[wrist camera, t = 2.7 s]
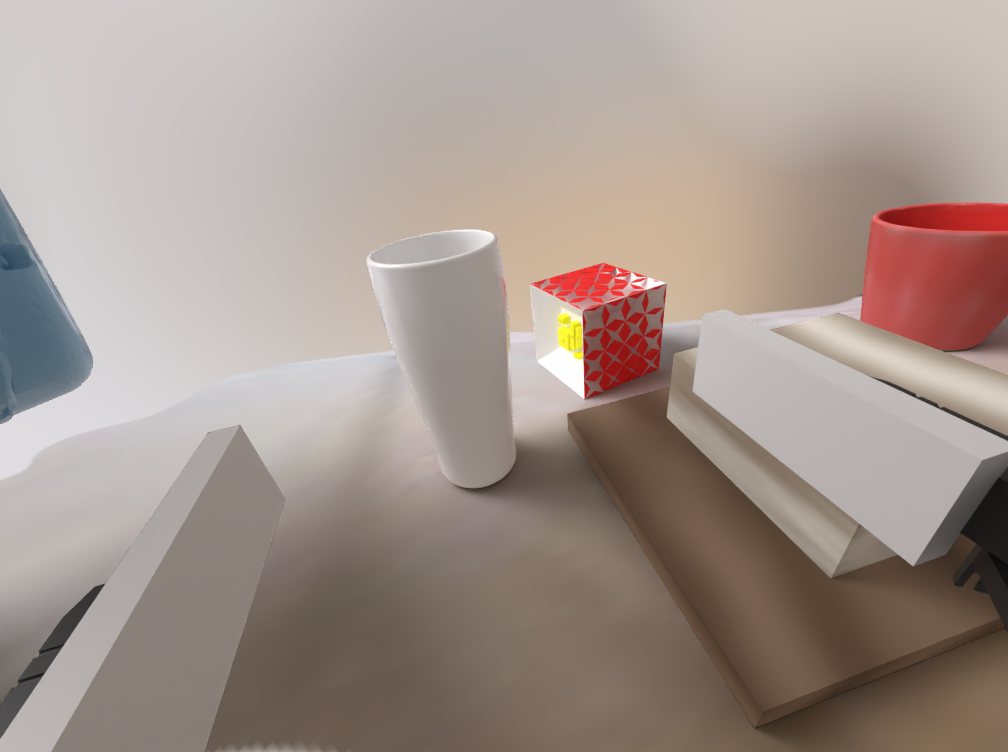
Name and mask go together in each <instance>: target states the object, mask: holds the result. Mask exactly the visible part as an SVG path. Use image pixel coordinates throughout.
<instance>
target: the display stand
mask: <svg viewBox="0 0 1008 752" xmlns="http://www.w3.org/2000/svg"><path fill="white" fill-rule="evenodd" d="M771 331H773V332H775V333H777V334H779V335H781V336H784V337H786V338H788V339H790V340H792V341H794V342H797V343H799V344H801V345H803V346H805V347H807V348H809V349H812V350H814V351H816V352H818V353H820V354H822V355H824V356H827V357H829V358H831V359H833V360H835V361H837V362H839V363H842V364H844V365H846V366H848V367H850V368H852V369H854V370H857V371H859V372H861V373H863V374H865V375H867V376H871V377H874V378H878V379H881V380H885V381H889V382H891V383H893V384H895V385H898V386H900V387H902V388H904V389H906V390H909V391H911V392H913V393H915V394H916V396H917V397H921V396H922V397H924V398H926V399H928V400H930V401H933V402H935V403H937V404H938V406H939V407H940V408H942V407H946V408H948V409H950V410H952V411H954V412H957V413H959V414H961V415H963V416H965V417H967V418H970V419H972V420H974V421H976V422H978V423H981V424H983V425H985V426H987V427H989V428H991V429H994V430H996V431H998V432H1000V433H1002V434H1005V435H1007V436H1008V375H1006V374H1003V373H1000V372H997V371H995V370H992V369H989V368H987V367H984V366H981V365H978V364H976V363H973V362H970V361H968V360H965V359H962V358H959V357H957V356H954V355H951V354H949V353H946V352H943V351H940V350H938V349H935V348H932V347H930V346H927V345H924V344H921V343H919V342H916V341H913V340H911V339H908V338H905V337H902V336H900V335H897V334H894V333H892V332H889V331H886V330H883V329H881V328H878V327H875V326H873V325H870V324H867V323H864V322H862V321H859V320H856V319H854V318H851V317H848V316H845V315H843V314H840V313H836V314H832V315H828V316H824V317H820V318H816V319H812V320H808V321H804V322H800V323H795V324H791V325H787V326H783V327H779V328H775V329H771ZM697 352H698V347H697V348H693V349H689V350H685V351H681V352H677V353H674V356H673V365H672V374H671V383H670V388H666V389H662V390H658V391H654V392H650V393H646V394H642V395H639V396H635V397H631V398H627V399H623V400H619V401H615V402H611V403H607V404H604V405H600V406H596V407H592V408H588V409H584V410H580V411H576V412H572V413H569V414H568V430H569V432H570V433H571V435H572V436H573V438H574V440H575V441H576V443H577V445H578V446H579V448H580V449H581V451H582V453H583V454H584V456H585V457H586V459H587V461H588V462H589V464H590V465H591V467H592V469H593V470H594V472H595V473H596V475H597V477H598V478H599V480H600V481H601V483H602V485H603V486H604V488H605V489H606V491H607V493H608V494H609V496H610V497H611V499H612V501H613V502H614V504H615V505H616V507H617V509H618V510H619V512H620V513H621V515H622V517H623V518H624V520H625V521H626V523H627V525H628V526H629V528H630V529H631V531H632V533H633V534H634V536H635V537H636V539H637V541H638V542H639V544H640V545H641V547H642V549H643V550H644V552H645V554H646V555H647V557H648V558H649V560H650V562H651V563H652V565H653V566H654V568H655V570H656V571H657V573H658V574H659V576H660V578H661V579H662V581H663V582H664V584H665V586H666V587H667V589H668V590H669V592H670V594H671V595H672V597H673V598H674V600H675V602H676V603H677V605H678V606H679V608H680V610H681V611H682V613H683V614H684V616H685V618H686V619H687V621H688V622H689V624H690V626H691V627H692V629H693V630H694V632H695V634H696V635H697V637H698V638H699V640H700V642H701V643H702V645H703V646H704V648H705V650H706V651H707V653H708V654H709V656H710V658H711V659H712V661H713V663H714V664H715V666H716V667H717V669H718V671H719V672H720V674H721V675H722V677H723V679H724V680H725V682H726V683H727V685H728V687H729V688H730V690H731V691H732V693H733V695H734V696H735V698H736V699H737V701H738V703H739V704H740V706H741V707H742V709H743V711H744V712H745V714H746V715H747V717H748V719H749V720H750V722H751V723H752V725H753V727H754V728H756V727H759V726H761V725H764V724H766V723H769V722H771V721H774V720H776V719H779V718H781V717H784V716H786V715H789V714H791V713H794V712H796V711H799V710H801V709H804V708H806V707H809V706H811V705H814V704H816V703H819V702H821V701H824V700H826V699H828V698H831V697H833V696H836V695H838V694H841V693H843V692H846V691H848V690H851V689H853V688H856V687H858V686H861V685H863V684H866V683H868V682H871V681H873V680H876V679H878V678H881V677H883V676H886V675H888V674H891V673H893V672H895V671H898V670H900V669H903V668H905V667H908V666H910V665H913V664H915V663H918V662H920V661H923V660H925V659H928V658H930V657H933V656H935V655H938V654H940V653H943V652H945V651H948V650H950V649H953V648H955V647H958V646H960V645H963V644H965V643H967V642H970V641H972V640H975V639H977V638H980V637H982V636H985V635H987V634H990V633H992V632H995V631H997V630H1000V629H1002V628H1005V626H1004V624H1003V622H1002V620H1001V618H1000V616H999V614H998V612H997V610H996V608H995V606H994V604H993V602H992V600H991V598H990V596H989V594H986V593H982V592H978V591H975V590H974V589H973V588H974V586H975V584H976V582H977V581H978V580H979V578H980V576H979V574H978V573H973V574H972V575H971V577H970V578H969V579H968V580H967V582H966V583H965V584H964V585H963V587H959V586H955V585H954V581H953V574H954V573H955V572H956V570H957V569H958V568H959V566H960V565H961V564H962V562H963V561H964V560H965V558H966V557H967V556H968V554H969V553H970V552H971V550H972V549H973V548H974V546H975V545H976V543H975V542H973V541H972V540H970V539H969V538H967V537H966V536H964V535H963V534H960V535H959V537H958V538H957V539H956V541H955V542H954V544H953V545H952V547H951V548H950V549H949V551H948V552H947V554H946V555H944V556H941V557H938V558H935V559H933V560H930V561H927V562H924V563H921V564H919V565H916V566H912V565H911V564H909V563H908V562H907V561H906V560H904V559H903V558H902V557H901V556H899V555H898V554H897V553H896V552H894V551H893V550H892V549H891V548H889V547H888V546H887V545H885V544H884V543H883V542H882V541H880V540H879V539H878V538H877V537H875V536H874V535H873V534H872V533H870V532H869V531H868V530H867V529H865V528H864V527H863V526H862V525H860V524H859V523H858V522H857V521H855V520H854V519H853V518H851V517H850V516H849V515H848V514H846V513H845V512H844V511H843V510H841V509H840V508H839V507H838V506H836V505H835V504H834V503H833V502H831V501H830V500H829V499H828V498H826V497H825V496H824V495H823V494H821V493H820V492H819V491H817V490H816V489H815V488H814V487H812V486H811V485H810V484H809V483H807V482H806V481H805V480H804V479H802V478H801V477H800V476H799V475H797V474H796V473H795V472H794V471H792V470H791V469H790V468H789V467H787V466H786V465H785V464H783V463H782V462H781V461H780V460H778V459H777V458H776V457H775V456H773V455H772V454H771V453H770V452H768V451H767V450H766V449H765V448H763V447H762V446H761V445H760V444H758V443H757V442H756V441H755V440H753V439H752V438H751V437H749V436H748V435H747V434H746V433H744V432H743V431H742V430H741V429H739V428H738V427H737V426H736V425H734V424H733V423H732V422H731V421H729V420H728V419H727V418H726V417H724V416H723V415H722V414H721V413H719V412H718V411H717V410H715V409H714V408H713V407H712V406H710V405H709V404H708V403H707V402H705V401H704V400H703V399H702V398H700V397H699V396H698V395H697V394H695V393H694V392H693V383H694V375H695V368H696V360H697Z"/></svg>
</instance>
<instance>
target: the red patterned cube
mask: <svg viewBox="0 0 1008 752" xmlns="http://www.w3.org/2000/svg"><path fill="white" fill-rule="evenodd" d="M666 284H667V283H664V282H661V281H658V280H655V279H652V278H648V277H646V276H643V275H639V274H636V273H633V272H630V271H627V270H624V269H621V268H618V267H614V266H611V265H608V264H605V263H601V264H598V265H594V266H591V267H588V268H584V269H581V270H577V271H573V272H570V273H566V274H563V275H559V276H556V277H553V278H549V279H545V280H542V281H539V282H535V283H532V284H530V293H531V303H532V314H533V325H534V335H535V346H536V356H537V361H538V362H539V363H540V364H541V365H543V366H544V367H545V368H546V369H548V370H549V371H550V372H551V373H553V374H554V375H555V376H556V377H558V378H559V379H560V380H561V381H563V382H564V383H565V384H566V385H568V386H569V387H570V388H571V389H573V390H574V391H575V392H576V393H578V394H579V395H580V396H581V397H583V398H584V399H587V398H589V397H592V396H594V395H597V394H599V393H601V392H603V391H606V390H608V389H611V388H613V387H616V386H618V385H621V384H623V383H625V382H628V381H630V380H633V379H635V378H638V377H640V376H642V375H645V374H647V373H650V372H652V371H655V370H657V369H659V361H660V350H661V339H662V328H663V317H664V306H665V295H666Z"/></svg>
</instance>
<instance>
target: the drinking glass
mask: <svg viewBox="0 0 1008 752" xmlns="http://www.w3.org/2000/svg"><path fill="white" fill-rule="evenodd" d="M367 265H368V269H369V273H370V277H371V281H372V285H373V289H374V292H375V296H376V300H377V303H378V307H379V310H380V313H381V317H382V320H383V322H384V326H385V328H386V331H387V334H388V337H389V340H390V342H391V345H392V347H393V350H394V352H395V355H396V357H397V360H398V362H399V365H400V367H401V369H402V372H403V374H404V377H405V379H406V381H407V384H408V386H409V389H410V391H411V393H412V396H413V398H414V401H415V403H416V405H417V408H418V410H419V413H420V415H421V418H422V420H423V423H424V425H425V427H426V430H427V432H428V435H429V437H430V440H431V442H432V445H433V447H434V450H435V453H436V456H437V460H438V463H439V466H440V469H441V471H442V473H443V475H444V476H445V478H446V479H447V480H449V481H450V482H451V483H453V484H455V485H457V486H460V487H464V488H482V487H486V486H489V485H492V484H494V483H496V482H498V481H500V480H501V479H502V478H504V477H505V476H506V475H507V474H508V473H509V472H510V470H511V469H512V467H513V465H514V463H515V459H516V446H515V439H514V429H513V409H512V385H511V358H510V331H509V314H508V302H507V293H506V286H505V279H504V272H503V266H502V261H501V255H500V250H499V244H498V239H497V237H496V235H495V234H493V233H491V232H488V231H484V230H451V231H442V232H436V233H429V234H423V235H418V236H414V237H410V238H406V239H402V240H399V241H396V242H393V243H390V244H387V245H385V246H382V247H380V248H378V249H376V250H375V251H373V252H372V253H371V254H370V255H369V256H368V257H367Z"/></svg>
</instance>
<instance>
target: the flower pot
mask: <svg viewBox="0 0 1008 752" xmlns="http://www.w3.org/2000/svg"><path fill="white" fill-rule="evenodd" d="M1007 315H1008V204H1002V203H934V204H924V205H923V204H922V205H912V206H905V207H899V208H893V209H889V210H884V211H881V212H879V213H877V214H875V215H874V216H873V218H872V221H871V227H870V235H869V243H868V251H867V259H866V268H865V277H864V286H863V297H862V308H861V320H860V321H862V322H864V323H867V324H870V325H873V326H875V327H878V328H881V329H883V330H886V331H889V332H892V333H894V334H897V335H900V336H902V337H905V338H908V339H911V340H913V341H916V342H919V343H921V344H924V345H927V346H930V347H932V348H935V349H938V350H962V349H968V348H972V347H975V346H977V345H979V344H980V343H981V342H982V341H983V340H984V339H985V338H986V337H987V336H988V335H989V334H990V333H991V332H992V331H993V330H994V329H995V328H996V327H997V326H998V325H999V324H1000V323H1001V321H1002V320H1003V319H1004V318H1005V317H1006V316H1007Z"/></svg>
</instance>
